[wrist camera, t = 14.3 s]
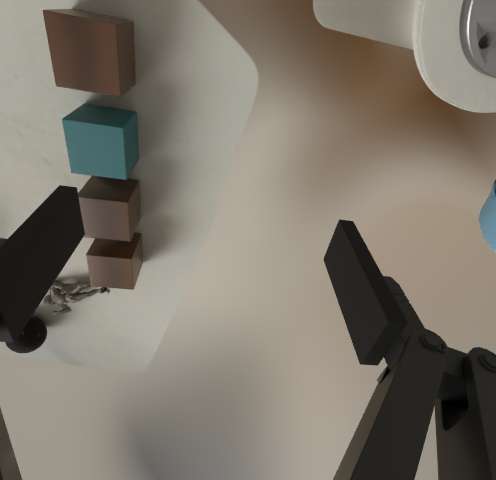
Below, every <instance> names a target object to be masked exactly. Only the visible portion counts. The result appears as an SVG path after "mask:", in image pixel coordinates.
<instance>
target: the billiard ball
mask: <svg viewBox="0 0 496 480" xmlns="http://www.w3.org/2000/svg"><path fill="white" fill-rule="evenodd" d="M46 336H47V329H46V326H45V324H44V323H43V322H42V321H41V320H39V319H37V318H33V317H31V318H30V319H29V321H28V322H27V324H26V326H25V327H24V329H23V330H22V332H21V333H20V335H19V336H18V338H17V339H16V341H15V342H5V343H6V345H7V346H8V348H9V349H11V350H12V351H14V352H17V353H28V352H32V351H34V350H36V349H37V348H39V347H40V346H41V345H42V344H43V343H44V341H45V339H46Z"/></svg>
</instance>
